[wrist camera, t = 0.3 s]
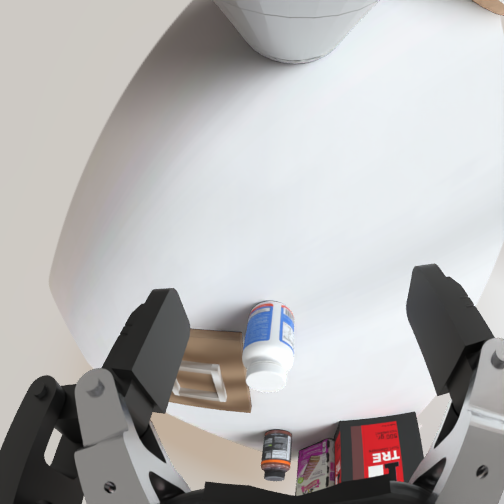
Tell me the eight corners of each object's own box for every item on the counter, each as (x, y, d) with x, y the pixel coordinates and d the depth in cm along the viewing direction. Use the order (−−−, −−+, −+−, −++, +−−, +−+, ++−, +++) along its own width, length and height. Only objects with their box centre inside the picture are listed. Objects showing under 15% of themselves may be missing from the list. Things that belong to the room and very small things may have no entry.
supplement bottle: (284, 440, 53) (280, 483, 44) (260, 434, 53) (254, 479, 43) (297, 432, 50) (294, 478, 41) (272, 426, 50) (266, 474, 40)
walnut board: (134, 322, 38) (126, 335, 36) (241, 332, 36) (238, 347, 34) (169, 395, 48) (165, 406, 46) (251, 406, 46) (249, 418, 44)
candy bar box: (326, 437, 51) (326, 502, 37) (342, 440, 52) (343, 502, 38) (296, 450, 57) (292, 508, 43) (312, 453, 57) (310, 508, 43)
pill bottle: (246, 326, 35) (233, 390, 27) (254, 295, 33) (240, 361, 24) (288, 335, 35) (284, 399, 27) (299, 304, 33) (299, 372, 24)
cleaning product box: (334, 437, 51) (333, 516, 34) (339, 421, 47) (340, 511, 30) (402, 428, 48) (411, 503, 31) (415, 411, 44) (428, 494, 27)
